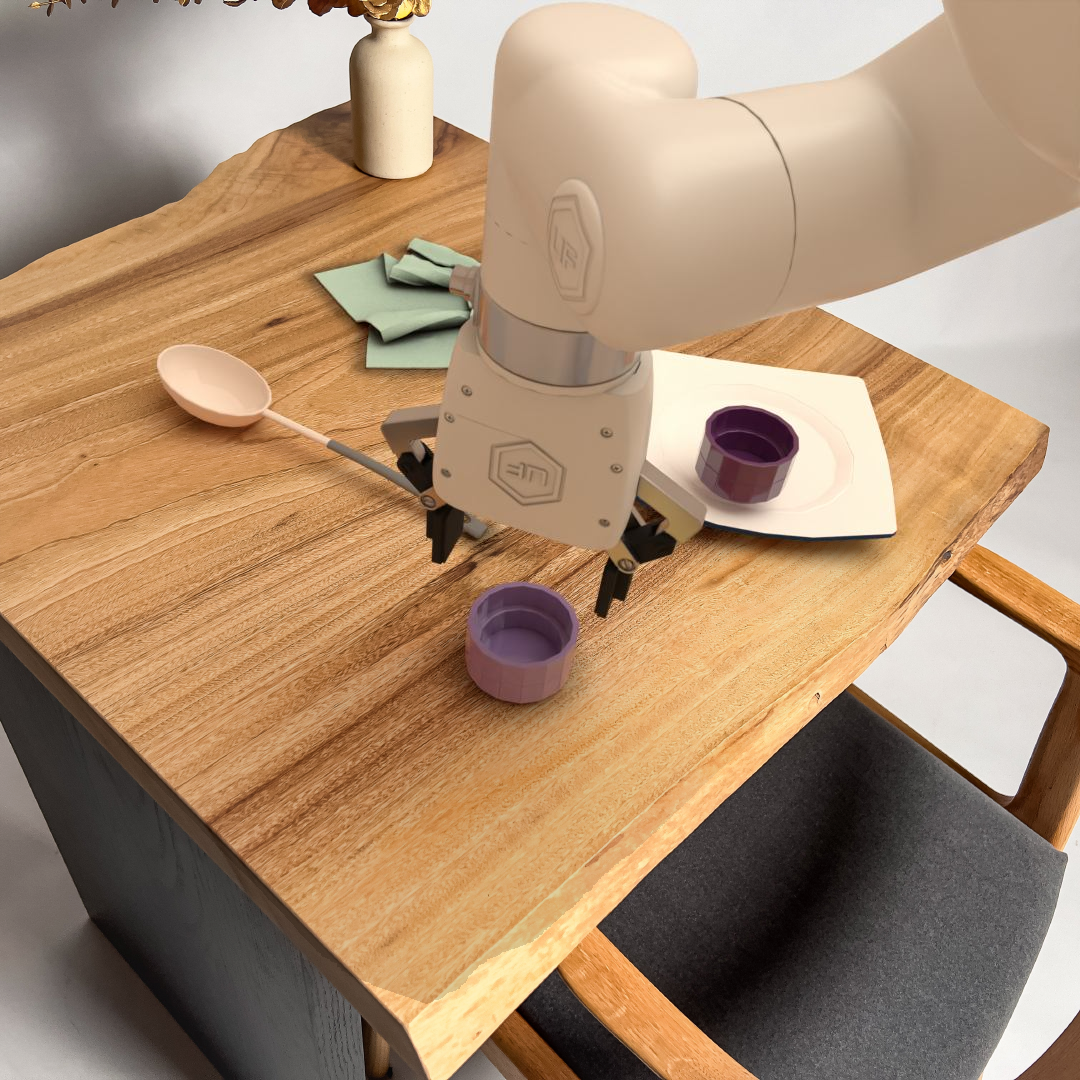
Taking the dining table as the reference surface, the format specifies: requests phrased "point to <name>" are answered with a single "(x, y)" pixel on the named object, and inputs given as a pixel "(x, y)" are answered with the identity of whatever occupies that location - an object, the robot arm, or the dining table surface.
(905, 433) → the dining table surface
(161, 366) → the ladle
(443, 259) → the cloth
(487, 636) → the lavender bowl
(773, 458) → the plum bowl
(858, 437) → the plate
